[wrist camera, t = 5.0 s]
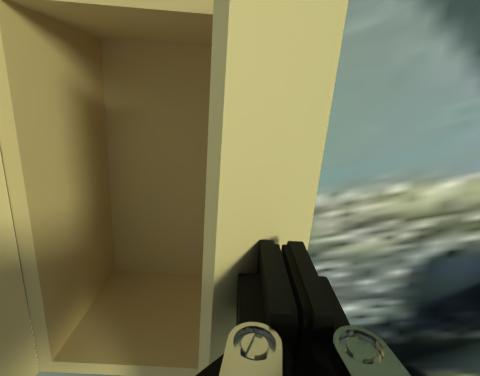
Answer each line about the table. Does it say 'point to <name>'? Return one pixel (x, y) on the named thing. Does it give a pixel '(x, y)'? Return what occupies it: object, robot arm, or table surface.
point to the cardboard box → (108, 177)
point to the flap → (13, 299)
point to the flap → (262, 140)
